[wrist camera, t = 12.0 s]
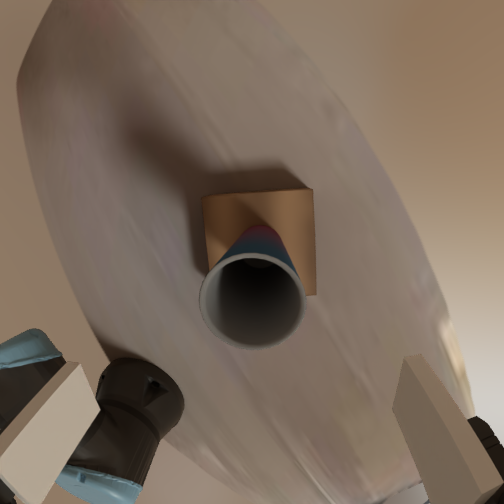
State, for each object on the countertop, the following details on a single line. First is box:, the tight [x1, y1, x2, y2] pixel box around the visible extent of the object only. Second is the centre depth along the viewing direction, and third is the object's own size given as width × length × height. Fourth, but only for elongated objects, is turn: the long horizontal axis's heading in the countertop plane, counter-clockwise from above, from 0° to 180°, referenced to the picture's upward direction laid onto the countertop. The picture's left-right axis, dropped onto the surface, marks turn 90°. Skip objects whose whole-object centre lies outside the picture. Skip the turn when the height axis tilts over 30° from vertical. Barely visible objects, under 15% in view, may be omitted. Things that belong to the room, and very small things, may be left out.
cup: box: [199, 225, 306, 350], centre depth 26 cm, size 7×7×15 cm
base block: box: [201, 188, 316, 296], centre depth 35 cm, size 12×12×4 cm
